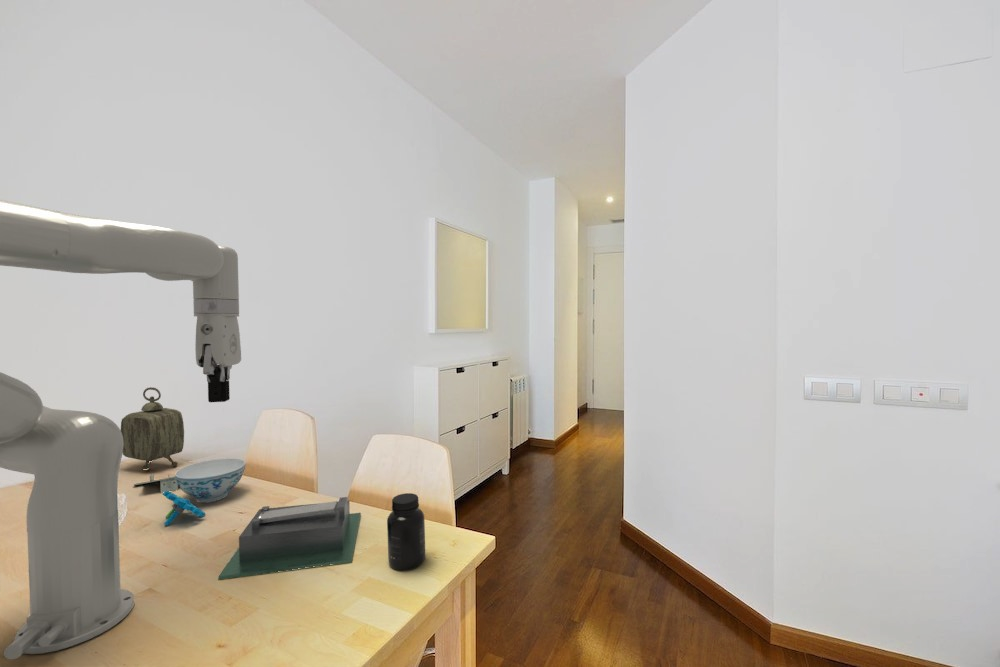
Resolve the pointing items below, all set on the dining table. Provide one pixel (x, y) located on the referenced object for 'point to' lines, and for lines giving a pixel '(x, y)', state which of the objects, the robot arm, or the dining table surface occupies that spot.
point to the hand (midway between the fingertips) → (219, 401)
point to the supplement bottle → (406, 533)
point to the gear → (180, 507)
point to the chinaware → (210, 478)
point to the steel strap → (298, 512)
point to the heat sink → (294, 542)
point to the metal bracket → (167, 481)
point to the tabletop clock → (153, 432)
